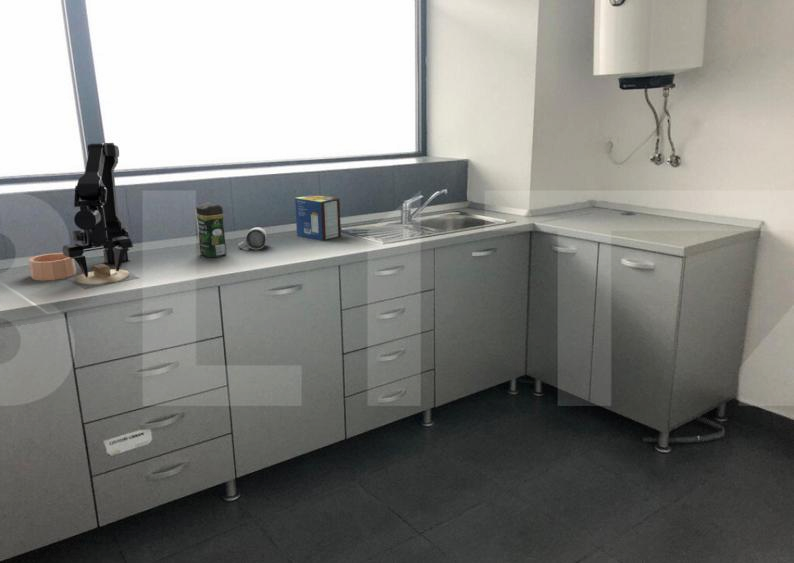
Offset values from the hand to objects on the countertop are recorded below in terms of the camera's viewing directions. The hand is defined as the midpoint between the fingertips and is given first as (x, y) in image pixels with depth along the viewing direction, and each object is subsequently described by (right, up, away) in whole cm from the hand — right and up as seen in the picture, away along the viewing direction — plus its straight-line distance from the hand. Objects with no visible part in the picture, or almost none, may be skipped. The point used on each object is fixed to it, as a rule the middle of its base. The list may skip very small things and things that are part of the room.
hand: (102, 273), depth 193 cm
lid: (0, -1, 0) cm, 1 cm away
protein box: (+59, +16, +61) cm, 86 cm away
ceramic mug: (+37, +10, +42) cm, 57 cm away
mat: (0, -2, 0) cm, 2 cm away
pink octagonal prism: (-17, -1, +4) cm, 18 cm away
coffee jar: (+25, +7, +31) cm, 40 cm away
